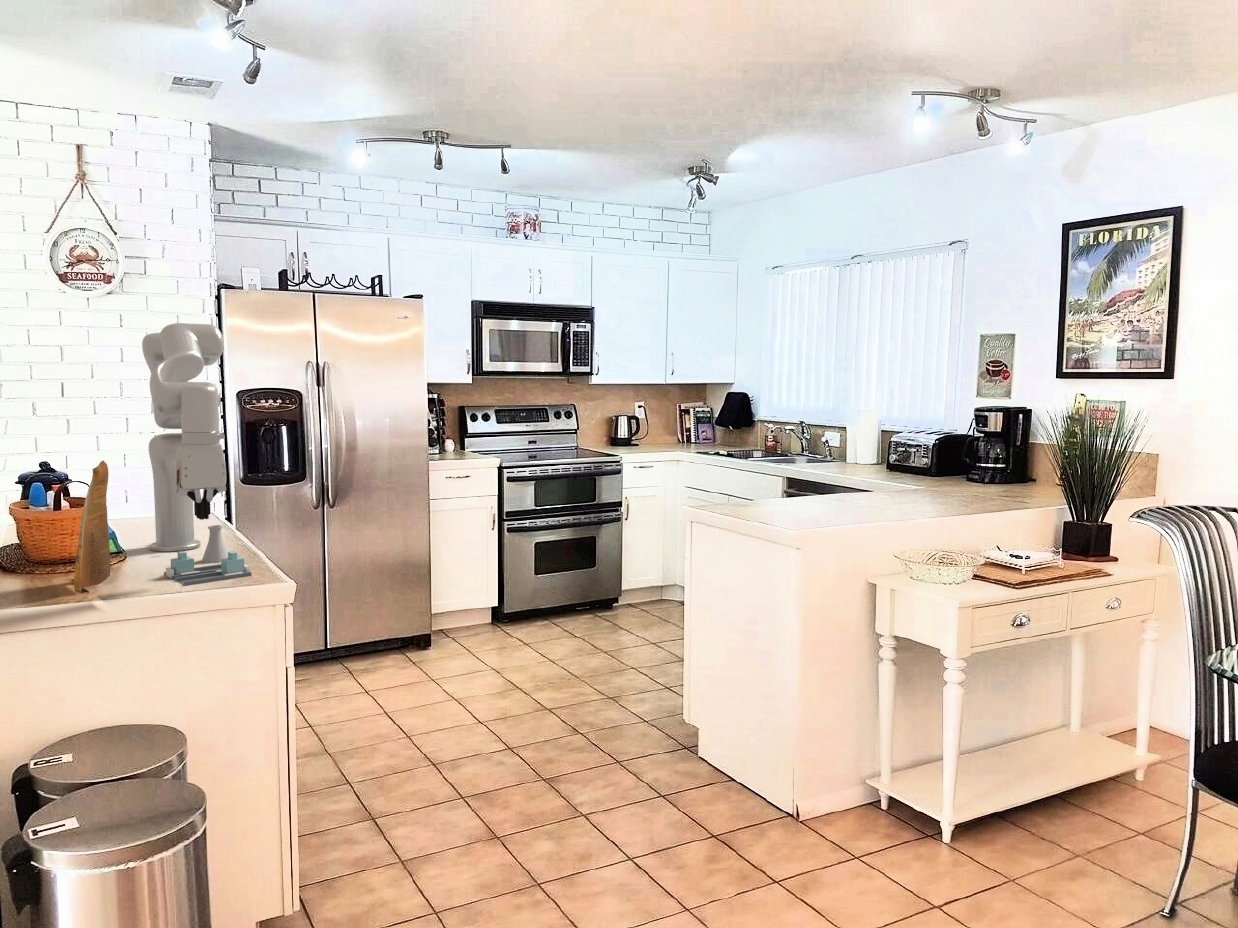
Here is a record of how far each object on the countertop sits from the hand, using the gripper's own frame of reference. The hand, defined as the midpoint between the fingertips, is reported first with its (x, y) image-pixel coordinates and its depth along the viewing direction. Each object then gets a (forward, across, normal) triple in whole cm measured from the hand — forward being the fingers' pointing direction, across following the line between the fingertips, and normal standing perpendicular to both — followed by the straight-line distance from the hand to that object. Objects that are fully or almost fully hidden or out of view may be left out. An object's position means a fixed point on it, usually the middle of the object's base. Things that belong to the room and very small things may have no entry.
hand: (202, 518), depth 205 cm
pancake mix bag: (+16, +18, -15) cm, 29 cm away
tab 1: (+14, +2, -6) cm, 16 cm away
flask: (+16, -10, -18) cm, 26 cm away
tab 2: (+14, -6, +1) cm, 16 cm away
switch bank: (+15, -2, -3) cm, 16 cm away
